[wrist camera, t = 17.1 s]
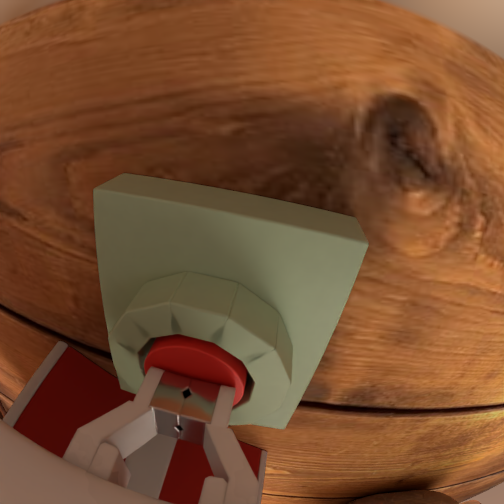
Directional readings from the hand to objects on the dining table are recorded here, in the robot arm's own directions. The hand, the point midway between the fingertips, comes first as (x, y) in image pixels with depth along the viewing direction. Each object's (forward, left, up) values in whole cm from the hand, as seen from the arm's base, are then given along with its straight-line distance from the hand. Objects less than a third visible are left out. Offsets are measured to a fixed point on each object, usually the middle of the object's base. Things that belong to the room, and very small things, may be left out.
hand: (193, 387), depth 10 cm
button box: (0, 0, -4) cm, 4 cm away
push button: (0, 0, -2) cm, 2 cm away
